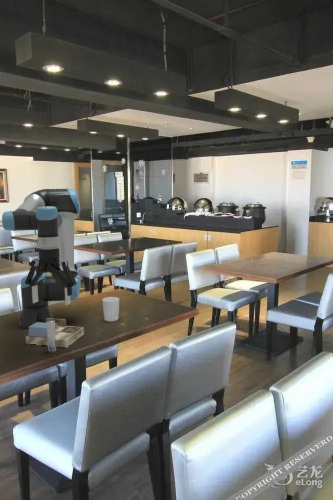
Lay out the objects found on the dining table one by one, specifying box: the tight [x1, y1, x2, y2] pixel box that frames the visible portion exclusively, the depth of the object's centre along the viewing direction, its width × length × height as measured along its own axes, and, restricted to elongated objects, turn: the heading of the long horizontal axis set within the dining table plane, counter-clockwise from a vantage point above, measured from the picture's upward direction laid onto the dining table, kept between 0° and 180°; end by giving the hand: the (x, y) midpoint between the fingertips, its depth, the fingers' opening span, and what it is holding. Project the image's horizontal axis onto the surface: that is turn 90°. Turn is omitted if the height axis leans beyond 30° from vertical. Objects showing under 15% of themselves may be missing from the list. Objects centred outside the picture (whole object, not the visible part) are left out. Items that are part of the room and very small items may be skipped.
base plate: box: [25, 317, 85, 349], centre depth 171 cm, size 18×16×6 cm
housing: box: [28, 322, 47, 337], centre depth 167 cm, size 8×6×4 cm
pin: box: [47, 320, 57, 353], centre depth 157 cm, size 3×3×12 cm
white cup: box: [102, 296, 120, 322], centre depth 195 cm, size 8×8×10 cm
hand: (51, 303), depth 156 cm, fingers open, 13 cm apart
